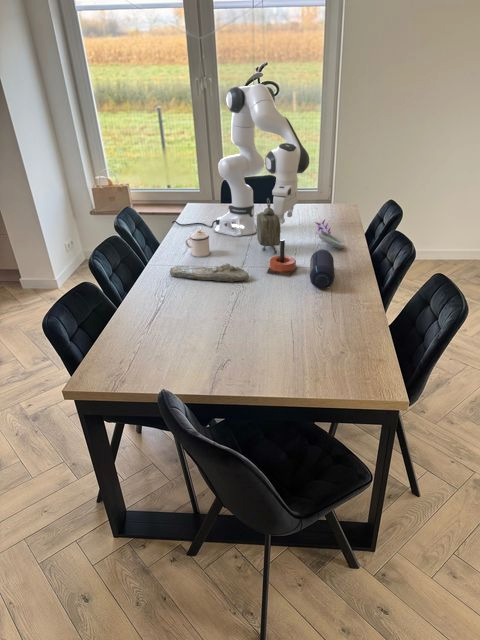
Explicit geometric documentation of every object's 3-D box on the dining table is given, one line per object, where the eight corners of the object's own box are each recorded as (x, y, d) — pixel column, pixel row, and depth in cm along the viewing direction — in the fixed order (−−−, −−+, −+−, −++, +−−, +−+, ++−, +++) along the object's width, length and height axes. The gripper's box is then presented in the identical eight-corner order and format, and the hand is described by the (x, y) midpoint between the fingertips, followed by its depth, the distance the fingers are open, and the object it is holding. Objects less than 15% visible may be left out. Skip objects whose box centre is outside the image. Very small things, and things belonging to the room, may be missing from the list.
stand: (267, 273, 213) (267, 242, 206) (275, 265, 221) (275, 235, 214) (288, 276, 210) (289, 245, 203) (296, 268, 218) (297, 237, 210)
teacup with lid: (213, 251, 236) (211, 227, 230) (206, 258, 229) (204, 234, 223) (190, 249, 239) (188, 225, 233) (182, 255, 232) (180, 231, 226)
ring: (266, 269, 213) (266, 262, 211) (275, 260, 222) (275, 253, 220) (290, 273, 209) (290, 266, 207) (298, 264, 218) (299, 257, 216)
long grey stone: (175, 272, 218) (167, 282, 210) (173, 261, 215) (165, 271, 207) (251, 273, 211) (246, 284, 203) (250, 262, 208) (245, 272, 200)
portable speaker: (310, 267, 218) (310, 246, 213) (332, 268, 217) (333, 246, 212) (309, 291, 197) (310, 268, 192) (334, 292, 196) (335, 269, 191)
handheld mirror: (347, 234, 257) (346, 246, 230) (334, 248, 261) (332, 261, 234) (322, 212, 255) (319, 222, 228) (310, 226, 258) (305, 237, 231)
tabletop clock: (280, 255, 231) (280, 202, 218) (261, 256, 230) (260, 203, 217) (274, 244, 244) (274, 193, 230) (256, 245, 242) (255, 194, 229)
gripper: (288, 180, 209) (287, 212, 217) (270, 192, 193) (270, 226, 201) (301, 181, 207) (300, 213, 215) (285, 193, 191) (284, 227, 199)
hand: (285, 219), depth 208 cm, fingers open, 8 cm apart
